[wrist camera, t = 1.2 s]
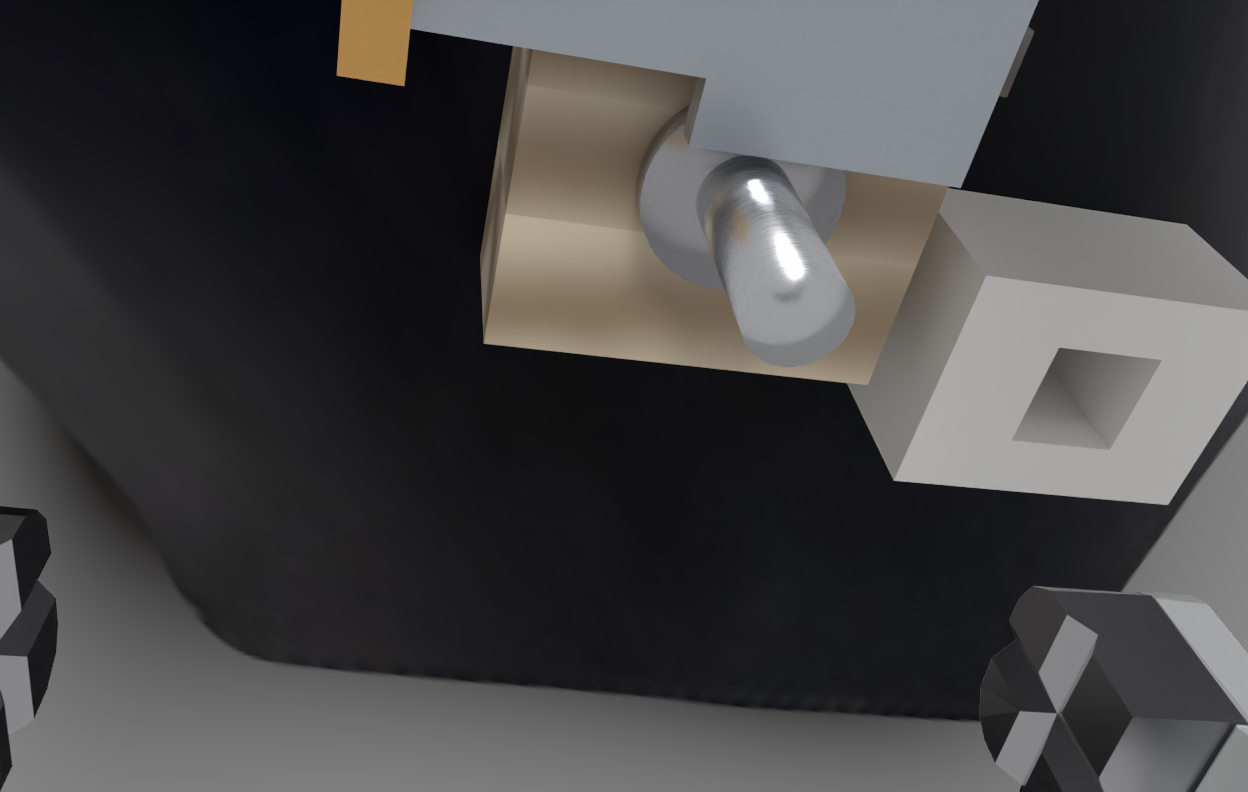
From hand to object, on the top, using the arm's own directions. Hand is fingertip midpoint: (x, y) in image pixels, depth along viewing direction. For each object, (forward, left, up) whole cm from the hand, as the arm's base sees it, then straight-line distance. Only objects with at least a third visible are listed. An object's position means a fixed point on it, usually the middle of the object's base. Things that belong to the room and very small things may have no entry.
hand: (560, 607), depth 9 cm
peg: (+7, +9, -31) cm, 33 cm away
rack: (+13, +24, -31) cm, 41 cm away
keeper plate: (+1, +6, -24) cm, 25 cm away
